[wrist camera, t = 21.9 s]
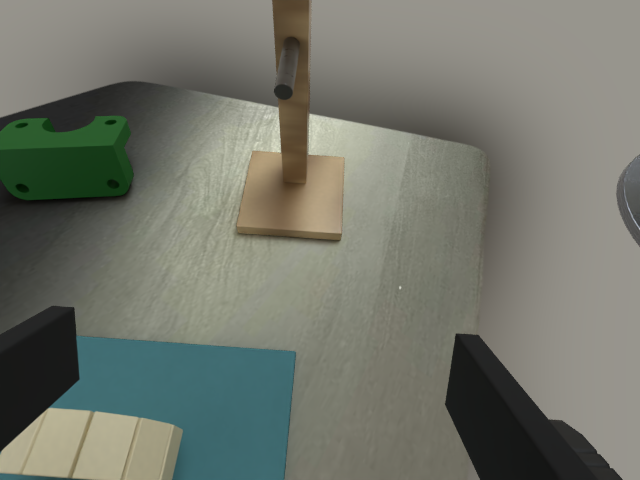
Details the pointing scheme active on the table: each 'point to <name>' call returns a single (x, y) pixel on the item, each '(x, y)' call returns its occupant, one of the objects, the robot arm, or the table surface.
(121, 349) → the mat
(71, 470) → the segmented ring
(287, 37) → the hook stand
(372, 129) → the table surface
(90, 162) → the clamp
